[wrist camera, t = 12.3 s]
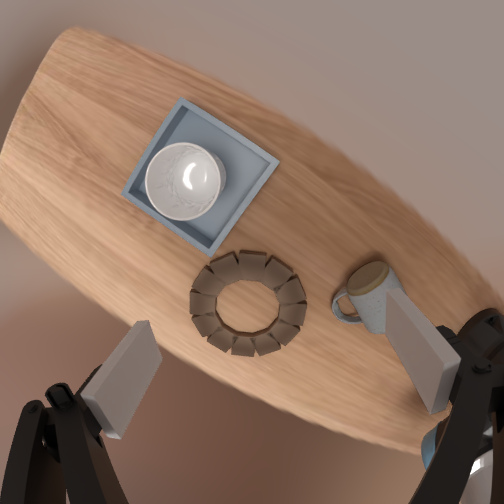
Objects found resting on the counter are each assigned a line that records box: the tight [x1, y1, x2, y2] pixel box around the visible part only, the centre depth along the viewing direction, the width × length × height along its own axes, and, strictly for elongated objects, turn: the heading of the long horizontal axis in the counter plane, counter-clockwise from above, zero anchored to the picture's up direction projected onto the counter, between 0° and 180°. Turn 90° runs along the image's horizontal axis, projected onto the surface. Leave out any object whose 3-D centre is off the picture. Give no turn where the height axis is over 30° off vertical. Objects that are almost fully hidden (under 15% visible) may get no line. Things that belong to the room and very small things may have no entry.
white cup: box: [145, 142, 227, 221], centre depth 33 cm, size 8×8×10 cm
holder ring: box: [190, 251, 307, 357], centre depth 43 cm, size 17×17×1 cm
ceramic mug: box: [332, 261, 408, 334], centre depth 39 cm, size 11×8×8 cm
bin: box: [121, 97, 280, 257], centre depth 36 cm, size 15×15×4 cm
